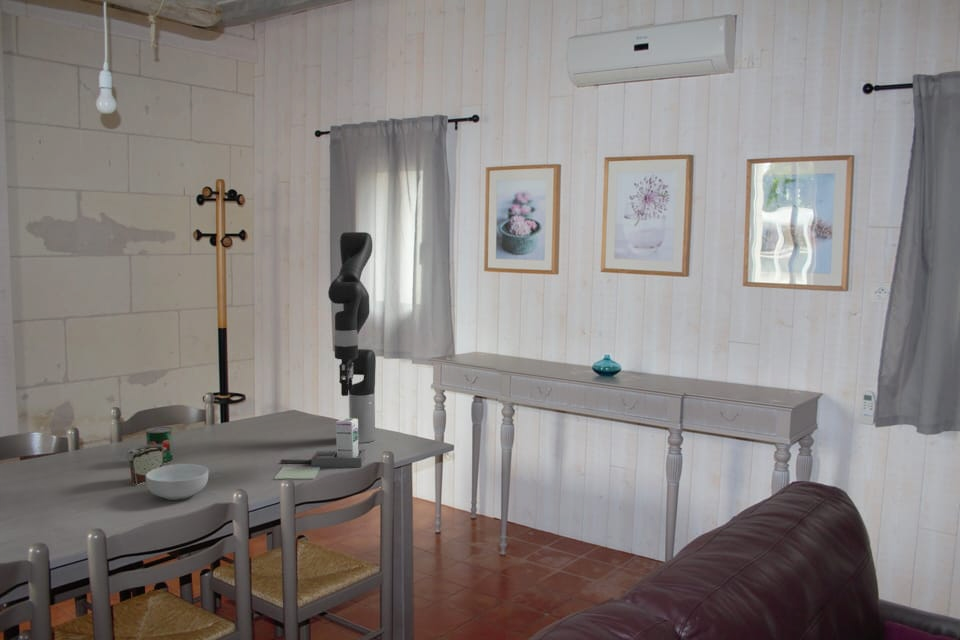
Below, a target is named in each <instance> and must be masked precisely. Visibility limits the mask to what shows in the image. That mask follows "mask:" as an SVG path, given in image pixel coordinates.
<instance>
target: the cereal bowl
mask: <svg viewBox="0 0 960 640" xmlns="http://www.w3.org/2000/svg"><path fill="white" fill-rule="evenodd" d="M209 473H210V471H209V469H208V467H206V466H204V465H201V464H196V463H195V464H193V463H175V464H167V465H162V467H159V468H156V469H153V470H151V471H149V472H148V473H147V474H146V476H145V477H146V483H145V484H146V487H147V489H148V490H149V492H150V493H151V494H153V495H154V496H157V497H161V498H164V499H165V500H168V501H169V500H171V501H174V500H175V501H176V500H177V501H178V500H184V499H188V498H190V497H192V496H193V495H194V494H197V493H199V492H200V491H202V490H203V489H204V488H205V486H206V485H207V483H208V480H209Z"/></svg>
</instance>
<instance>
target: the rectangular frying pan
mask: <svg viewBox="0 0 960 640" xmlns="http://www.w3.org/2000/svg"><path fill="white" fill-rule="evenodd" d="M365 460H366V449H359V457H337V449H316V451H315V452H314V453H313V455H312V457H311V458H310V459H309V458H308V459H304V458H303V459H300V458H299V459H297V458H296V459H294V458H293V459H291V458H289V459H285V458H284V459H281V460H280V461H279V462H280V464H311V467H320V468H360V467H359V466H362V467H363V464H364V462H365Z"/></svg>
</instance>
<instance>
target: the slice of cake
mask: <svg viewBox="0 0 960 640" xmlns="http://www.w3.org/2000/svg"><path fill="white" fill-rule="evenodd" d="M163 451H165V450H164V447H163V445H147V444H144V445H138V446H135V447H132V448H129V449H128V450H127V453H126V458H125V459H126V460H128V463H129V469H130V470H129V471H130V475H131V476H130V477H131V483H134V484H136V485H137V484H140V483H143V482H146V477H145V476H146V474H147V473H148V472H149V471H151V470H153V469H156V468H159V467H163V465H162V464H163ZM136 485H135V486H136ZM137 486H138V485H137Z"/></svg>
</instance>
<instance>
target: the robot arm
mask: <svg viewBox="0 0 960 640" xmlns="http://www.w3.org/2000/svg"><path fill="white" fill-rule="evenodd" d="M339 239H340V240H339V243H340V244H339V249H340V259H341V261H340V262H341V268H340V270H339V274H338V276H337V277H336V278H334V280H333V281H332V282H331V283H330V286H329V288H328V298H329V300H330V301H331V302H332V303H333V304H336V305H339V304H341V305H342V306H343V309H342V310H340V311H337V312H335V314H334V337H333V338H334V341H333V342H334V344H333V345H334V347H333V348H334V358H335V359H337V360H341V362H340V364H339V383H340V388H341V389H340V391H341V393H340V395H341V396H343V397H347V396H348V410H349V411H348V412H349V413H348V415H349V417H348V418H356V419H358V434H359V444H360V443H369V442H373V441H375V440H376V402H375V401H376V395H375V392H376V389H375V387H376V366H377V364H376V363H377V359H376V353H375V352H374V351H373V349H366V348H365V349H363V348H360V349H359V333H360V331H361V329H362V328H363V326H364V325H365V323H366V321H367V320H368V317H369V315H370V295H369V293H368V290H367V288H366V287H365V285H364V284H363V282H362V281H361V276H362V273H363V271H364V268H365V266H366V265H367V264H368V261H369V260H370V257H371V255H372V253H373V238H372V235H371V234H370V233H369V232H365V231H353V232H351V231H350V232H349V231H348V232H347V231H345V232H342V234H341V235H340V238H339ZM354 375H356V376H357V375H358V376H363V379H362V380H361V381H359V382H355V383H353V379H354Z"/></svg>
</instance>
